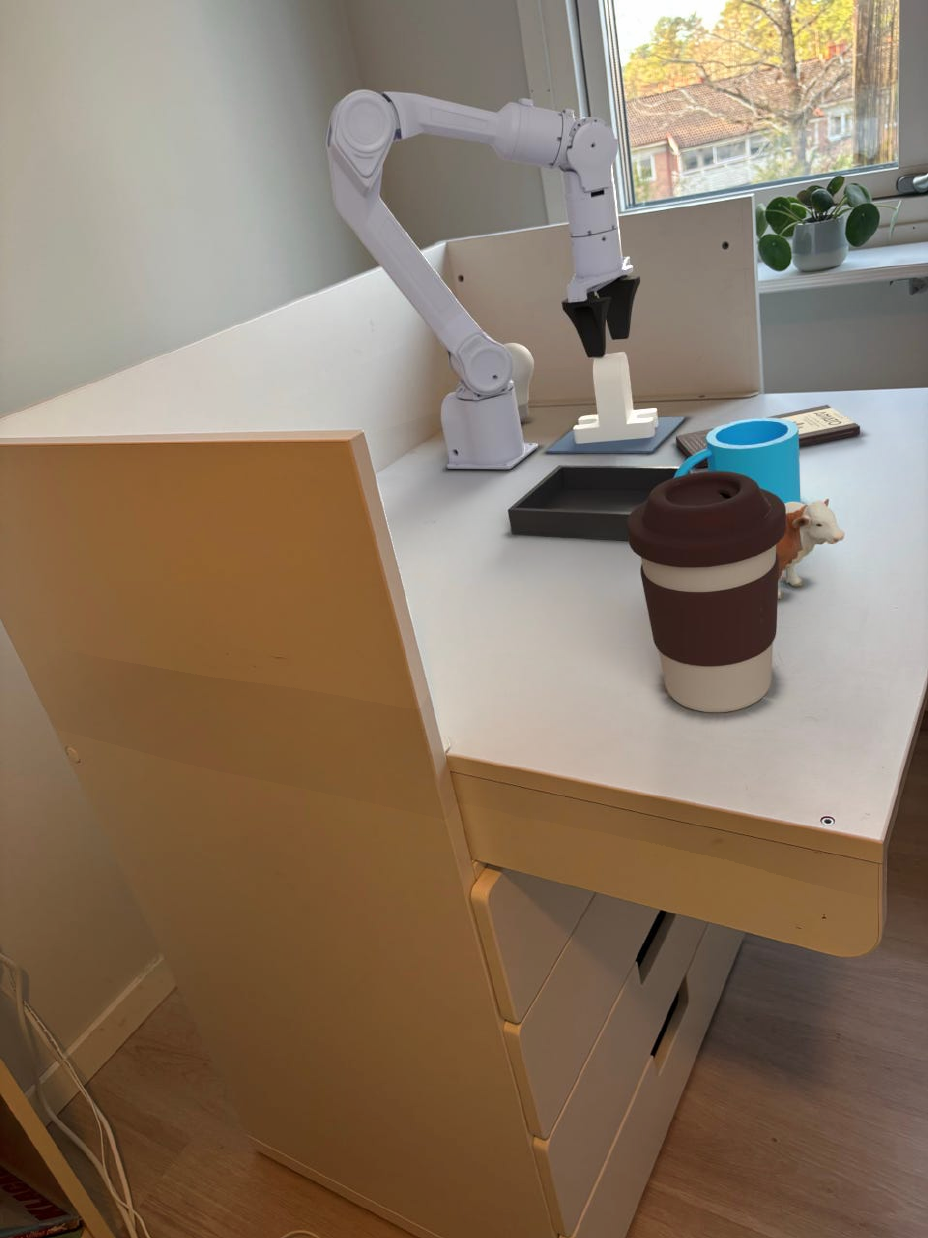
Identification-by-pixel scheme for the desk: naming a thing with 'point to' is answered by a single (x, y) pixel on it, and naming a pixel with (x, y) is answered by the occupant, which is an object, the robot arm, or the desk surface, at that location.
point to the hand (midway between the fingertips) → (608, 347)
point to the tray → (586, 501)
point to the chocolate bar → (810, 422)
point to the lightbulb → (521, 376)
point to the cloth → (620, 441)
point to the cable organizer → (614, 405)
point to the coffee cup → (711, 585)
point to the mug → (755, 454)
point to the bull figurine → (804, 535)
